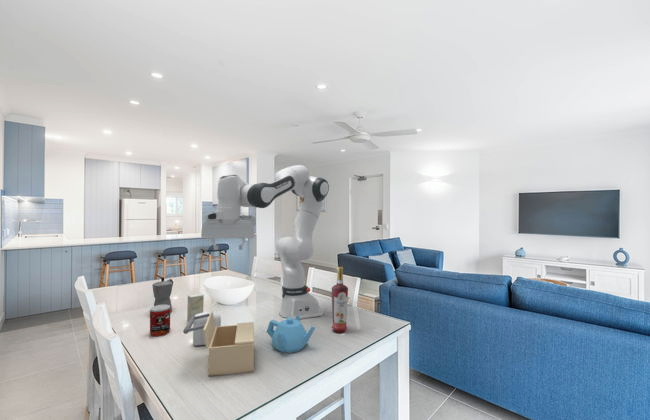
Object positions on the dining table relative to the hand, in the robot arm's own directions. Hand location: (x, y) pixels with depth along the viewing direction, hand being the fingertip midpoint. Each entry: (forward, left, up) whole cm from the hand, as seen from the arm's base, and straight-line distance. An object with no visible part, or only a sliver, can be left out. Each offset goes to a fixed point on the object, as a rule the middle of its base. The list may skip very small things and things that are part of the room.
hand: (228, 249), depth 120 cm
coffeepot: (+35, -44, -37) cm, 67 cm away
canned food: (+29, -16, -37) cm, 50 cm away
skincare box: (+17, -28, -37) cm, 50 cm away
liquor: (-47, -2, -37) cm, 60 cm away
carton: (-3, +15, -37) cm, 40 cm away
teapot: (-24, +8, -37) cm, 45 cm away
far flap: (+5, +15, -25) cm, 29 cm away
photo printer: (+8, -1, -37) cm, 38 cm away
